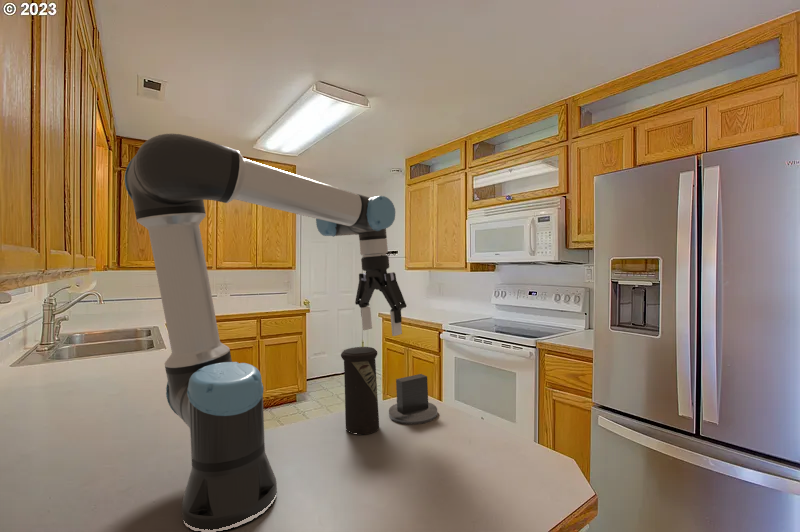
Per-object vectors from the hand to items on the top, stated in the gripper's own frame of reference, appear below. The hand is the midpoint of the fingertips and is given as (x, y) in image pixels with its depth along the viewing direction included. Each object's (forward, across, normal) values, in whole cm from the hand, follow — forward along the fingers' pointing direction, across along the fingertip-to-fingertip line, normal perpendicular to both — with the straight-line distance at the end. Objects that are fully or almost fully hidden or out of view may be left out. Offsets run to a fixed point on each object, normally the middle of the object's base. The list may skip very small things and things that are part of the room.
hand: (381, 332), depth 107 cm
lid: (+22, -8, -2) cm, 24 cm away
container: (+21, -5, +12) cm, 25 cm away
